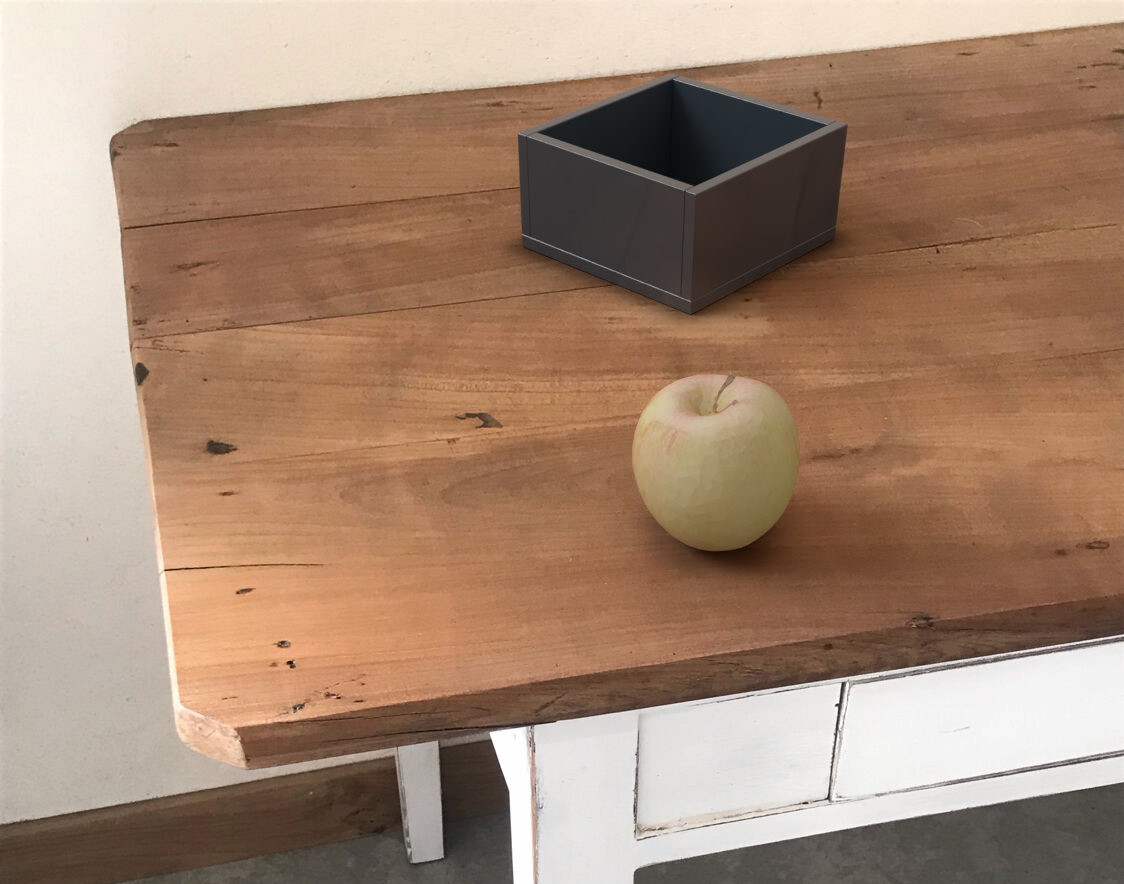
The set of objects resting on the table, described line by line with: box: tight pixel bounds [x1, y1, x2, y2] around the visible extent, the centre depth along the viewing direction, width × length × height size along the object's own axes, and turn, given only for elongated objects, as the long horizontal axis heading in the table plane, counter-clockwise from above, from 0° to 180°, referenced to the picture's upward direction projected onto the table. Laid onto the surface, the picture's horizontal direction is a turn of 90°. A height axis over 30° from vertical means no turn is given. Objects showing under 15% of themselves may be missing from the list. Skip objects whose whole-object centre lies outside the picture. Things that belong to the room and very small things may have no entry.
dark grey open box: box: [517, 72, 849, 315], centre depth 82 cm, size 14×14×7 cm
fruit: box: [631, 370, 801, 552], centre depth 60 cm, size 8×7×8 cm
